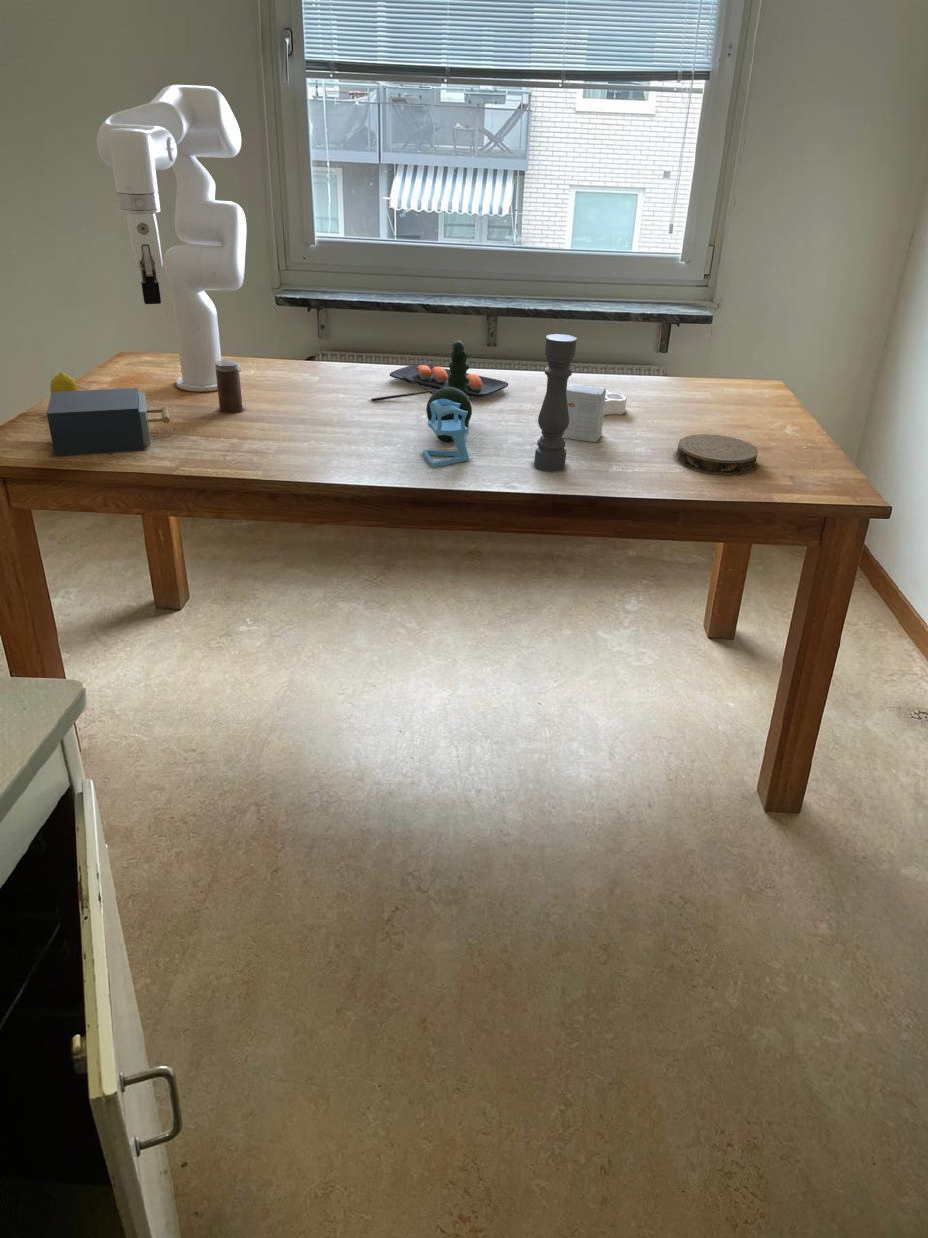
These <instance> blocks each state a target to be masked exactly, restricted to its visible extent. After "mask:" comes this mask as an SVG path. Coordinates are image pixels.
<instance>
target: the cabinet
mask: <svg viewBox="0 0 928 1238" xmlns="http://www.w3.org/2000/svg"><path fill="white" fill-rule="evenodd" d="M138 393H139V388H138V387H128V388H127V387H126V388H107V389H106V388H104V389H84V390H78V391H60V392H52V393H51V392H50V398H49V402H48V406H47V410H46V419H47V423H48V428H49V434H50V439H51V443H52V447H53V452H54V456H55V457H60V456H61V457H63V456H77V455H91V454H105V453H106V454H107V453H120V452H136V451H137V452H138V451H145V445H144V442H143V436H142V429H141V422H140V415H139V397H138Z"/></svg>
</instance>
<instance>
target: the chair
mask: <svg viewBox="0 0 928 1238" xmlns="http://www.w3.org/2000/svg"><path fill="white" fill-rule="evenodd" d="M441 405H450V406H441ZM459 407H460V403H455V402H452V401H450V400H447V399H439V400H435V401H433V402H431V403H430V409H431V413H432V418H431V421H429V420H427V426H428V427H429V428H430V429H431V430H432V431H433V433H434V435H435V436H437V435H447V436H452V438H453V440H454V442H453V443H454V445H455V447H456V450H447V449H445V450H443V449H423V450H422V455H423V457H424V459H425V460H426V461H427V462H428V464H429V465H430V466H431V468H437V467H439V468H440V467H444V466H448V465H452V464H456V463H462V462H463V463H464V462H468V461H469V460H470V459H469V454H468V453H469V452H468V449H467V445H466V440H465V437H466V435H467V434H469V427H468V428H467V427H465V418H466V416H467V413H468V411H463V410H461V409H459ZM435 412H436V414H437V418H438V420H436V415H435ZM450 413H454V419H452V420H442V421H441V417H443V416H445V415H447V414H450ZM458 414H459V415H462V416H463V417H462V419H461V421H460V420H459V419H458ZM431 456H441V457H449V458H445V459H441V460H436V461H435V460H433V458H432V457H431Z"/></svg>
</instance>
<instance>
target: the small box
mask: <svg viewBox="0 0 928 1238" xmlns="http://www.w3.org/2000/svg"><path fill="white" fill-rule="evenodd" d="M606 389H607V388H606V387H601V386H592V385H583V384H576V383H571V384H569V386H567V390H566V396H567V404H568V412H569V425H568V427H567V429H566V430H565V431H564V435H563V436H562V437H563V438H564V439H570V440H575V441H576V440H577V441H582V442H583V441H585V442H591V443H597V442H598V440H600V437H601V436H602V433H603V424H604V416H605V415H604V405H605V396H606ZM603 415H604V416H603Z"/></svg>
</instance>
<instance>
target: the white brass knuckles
mask: <svg viewBox="0 0 928 1238" xmlns="http://www.w3.org/2000/svg"><path fill="white" fill-rule="evenodd" d="M626 406H627V397H626V396H625V395H624V394H621V393H615V392H611V391H609V390H608V389H607V388H606V396H605V405H604V415H603V417H604V416H607V415H619V416H620V415H624V413H626Z"/></svg>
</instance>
